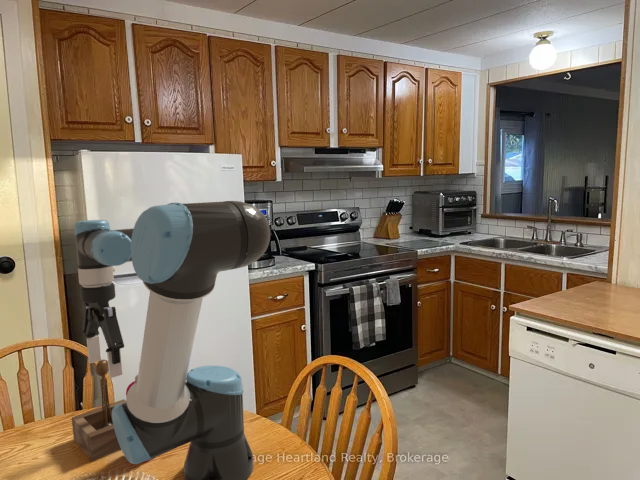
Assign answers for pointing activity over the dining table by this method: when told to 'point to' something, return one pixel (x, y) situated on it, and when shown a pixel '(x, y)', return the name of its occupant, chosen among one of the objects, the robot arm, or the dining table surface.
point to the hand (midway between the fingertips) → (104, 368)
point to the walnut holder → (95, 433)
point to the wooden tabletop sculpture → (104, 391)
